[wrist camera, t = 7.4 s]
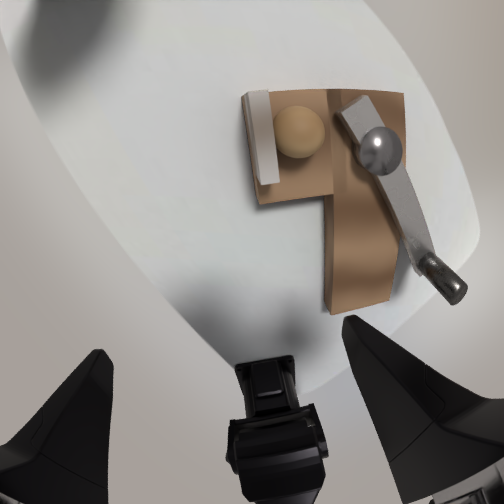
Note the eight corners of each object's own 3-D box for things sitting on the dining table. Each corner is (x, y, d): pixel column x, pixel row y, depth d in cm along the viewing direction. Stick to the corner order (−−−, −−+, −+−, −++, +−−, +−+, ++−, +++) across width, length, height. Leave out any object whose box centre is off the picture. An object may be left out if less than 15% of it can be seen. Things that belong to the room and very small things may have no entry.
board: (379, 288, 25) (404, 321, 20) (271, 311, 25) (281, 353, 20) (388, 92, 16) (430, 94, 11) (241, 96, 16) (249, 91, 11)
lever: (434, 252, 21) (473, 289, 16) (409, 272, 22) (445, 314, 16) (363, 92, 14) (421, 92, 9) (327, 116, 15) (376, 123, 10)
